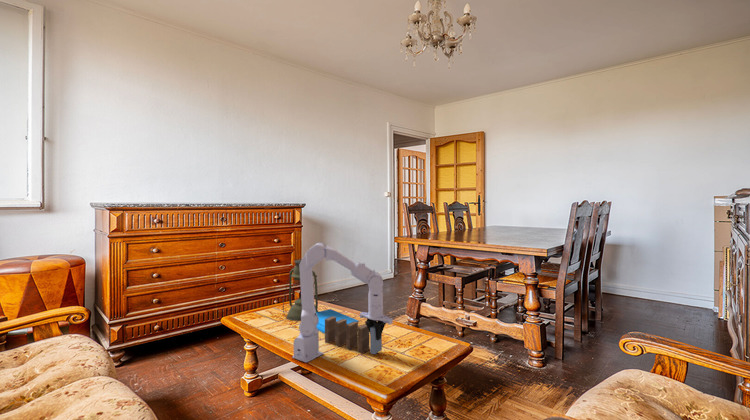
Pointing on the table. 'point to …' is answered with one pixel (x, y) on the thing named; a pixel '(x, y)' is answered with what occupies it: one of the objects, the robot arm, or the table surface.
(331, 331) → the domino
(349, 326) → the domino
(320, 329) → the book
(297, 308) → the lantern
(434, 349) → the table surface
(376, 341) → the domino
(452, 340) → the table surface
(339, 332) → the domino
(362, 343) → the domino
